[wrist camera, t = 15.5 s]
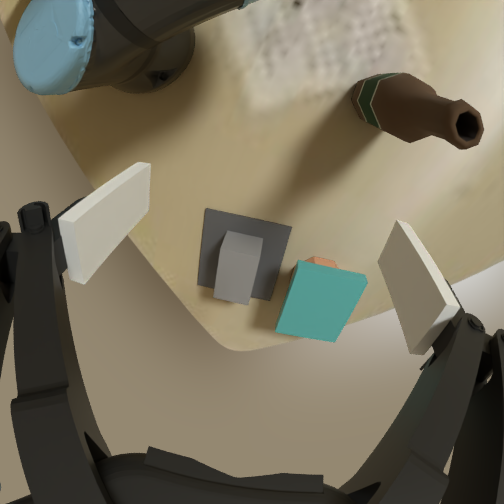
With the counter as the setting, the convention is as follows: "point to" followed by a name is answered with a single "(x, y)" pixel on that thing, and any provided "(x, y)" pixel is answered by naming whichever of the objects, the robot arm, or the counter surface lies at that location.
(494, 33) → the counter surface
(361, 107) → the beer bottle
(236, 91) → the counter surface
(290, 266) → the counter surface
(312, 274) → the board
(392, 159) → the counter surface
